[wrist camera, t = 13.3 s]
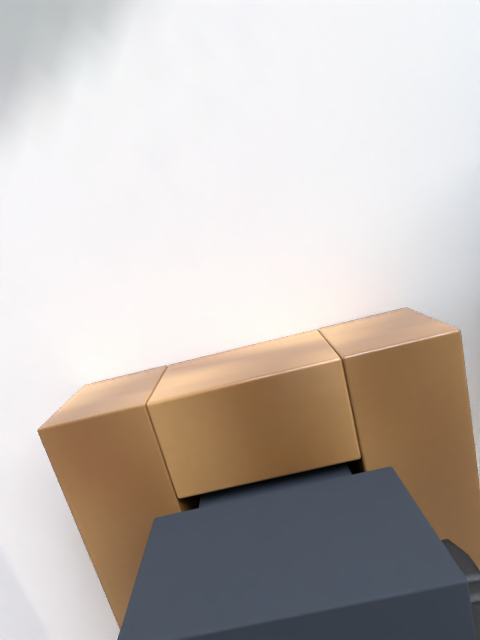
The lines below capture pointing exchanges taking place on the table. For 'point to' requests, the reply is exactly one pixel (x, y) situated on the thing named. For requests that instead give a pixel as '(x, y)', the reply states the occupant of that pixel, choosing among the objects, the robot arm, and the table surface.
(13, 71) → the table surface
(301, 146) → the table surface
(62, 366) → the table surface
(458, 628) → the dark grey cube
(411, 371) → the block
